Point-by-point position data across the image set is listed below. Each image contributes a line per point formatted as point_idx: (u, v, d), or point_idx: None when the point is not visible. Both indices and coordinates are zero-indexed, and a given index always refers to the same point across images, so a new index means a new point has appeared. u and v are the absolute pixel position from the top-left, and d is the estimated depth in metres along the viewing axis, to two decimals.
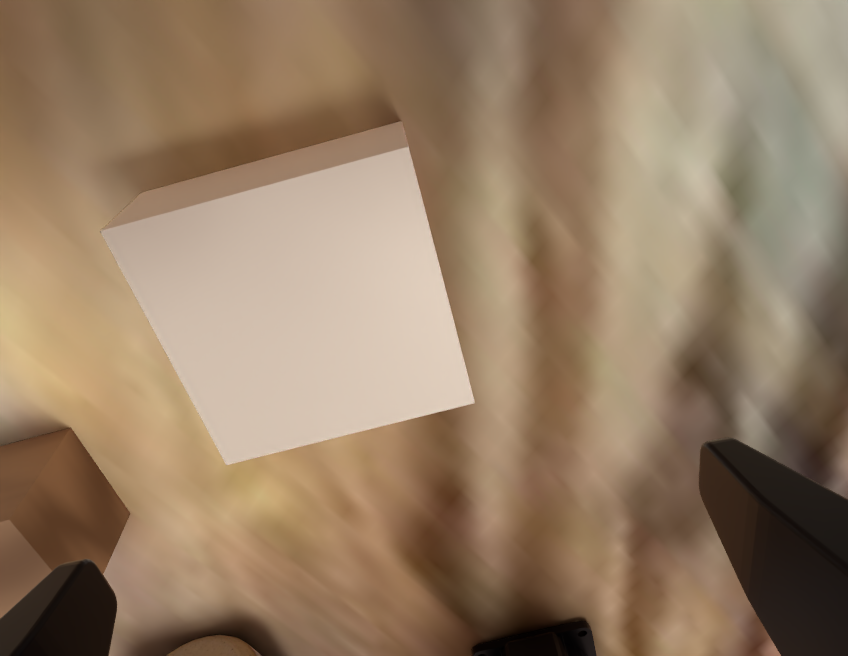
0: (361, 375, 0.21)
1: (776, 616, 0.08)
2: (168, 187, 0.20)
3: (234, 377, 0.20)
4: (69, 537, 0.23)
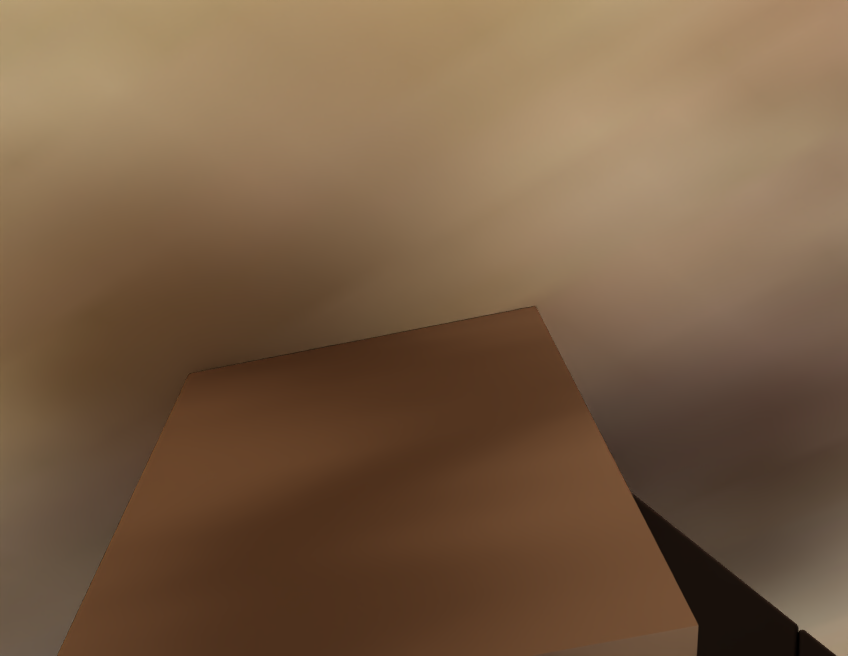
0: None
1: None
2: None
3: None
4: (368, 524, 0.06)
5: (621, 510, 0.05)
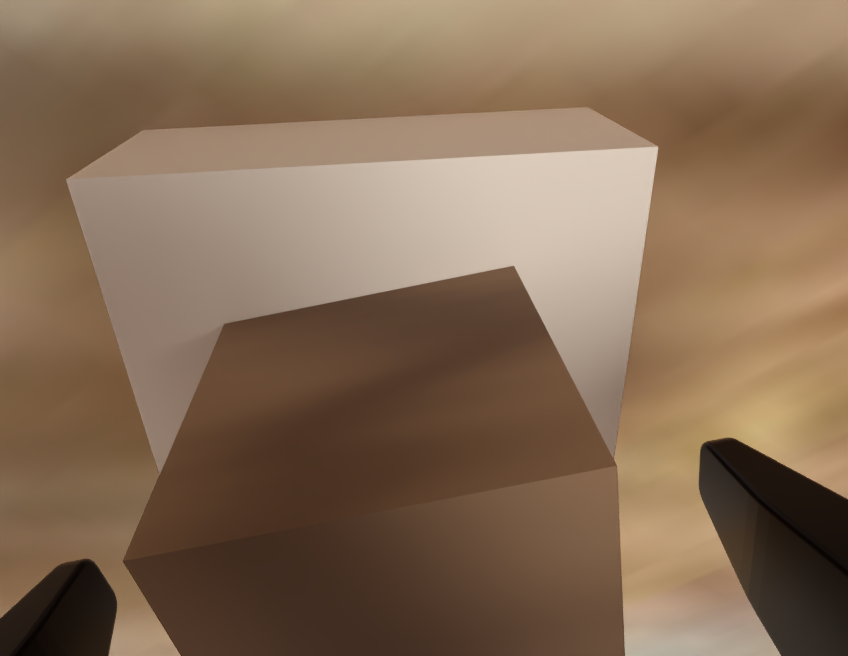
0: None
1: (776, 616, 0.08)
2: None
3: None
4: (378, 418, 0.08)
5: (569, 401, 0.07)
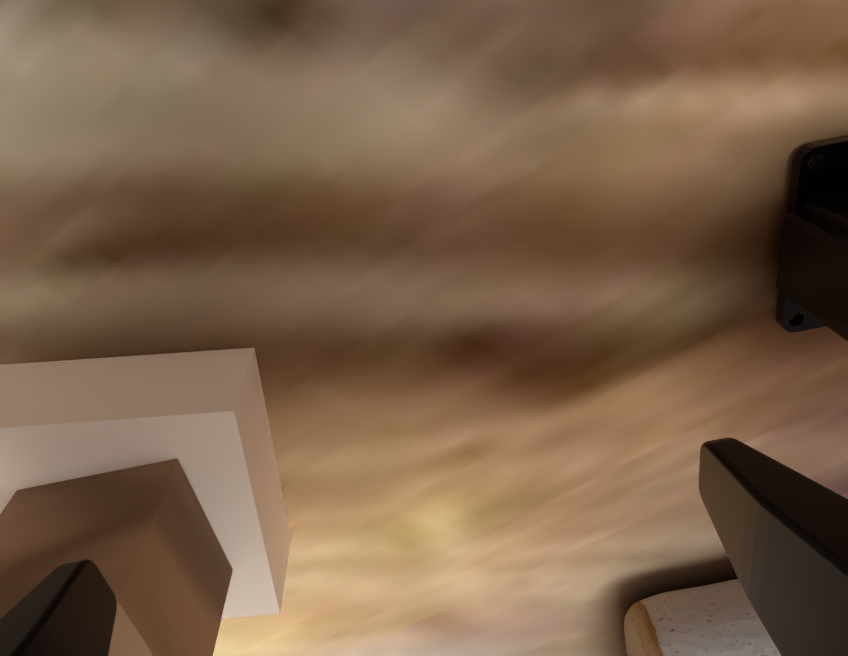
0: None
1: (776, 616, 0.08)
2: None
3: None
4: (49, 567, 0.16)
5: (129, 563, 0.15)
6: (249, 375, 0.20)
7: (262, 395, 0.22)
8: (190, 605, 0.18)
